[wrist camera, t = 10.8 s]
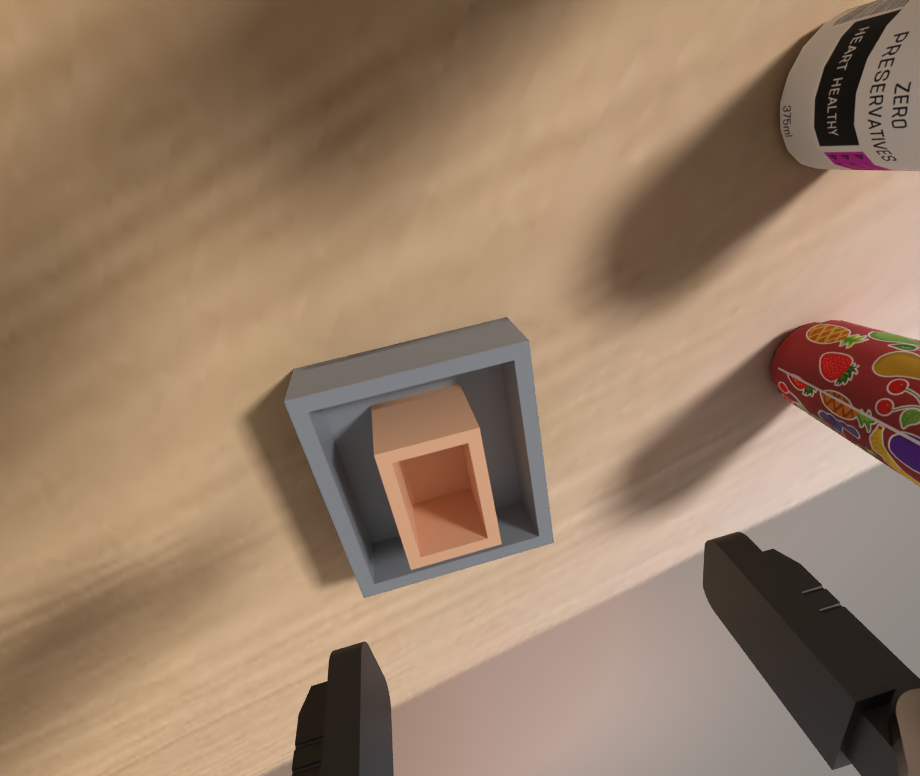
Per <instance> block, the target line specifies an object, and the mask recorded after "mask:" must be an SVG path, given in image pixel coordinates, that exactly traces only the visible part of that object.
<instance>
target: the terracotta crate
mask: <svg viewBox="0 0 920 776" xmlns="http://www.w3.org/2000/svg"><path fill="white" fill-rule="evenodd" d="M371 411H372V429H373V447H374V457H375V460H376V463H377V466H378V469H379V472H380V476H381V479H382V482H383V485H384V488H385V491H386V494H387V497H388V500H389V503H390V507H391V510H392V513H393V516H394V519H395V522H396V525H397V528H398V531H399V534H400V538H401V541H402V544H403V547H404V550H405V553H406V556H407V559H408V562H409V565H410V569H411V570H413V569H416V568H420V567H423V566H427V565H430V564H434V563H437V562H441V561H444V560H448V559H451V558H455V557H458V556H462V555H465V554H469V553H472V552H476V551H479V550H483V549H486V548H490V547H493V546H497V545H500V544H502V543H501V537H500V532H499V527H498V522H497V516H496V511H495V506H494V500H493V495H492V490H491V485H490V479H489V474H488V469H487V464H486V458H485V453H484V448H483V443H482V437H481V432H480V427H479V425H478V423H477V421H476V419H475V416H474V414H473V412H472V410H471V408H470V405H469V403H468V401H467V399H466V397H465V394H464V392H463V390H462V388H461V386H460V384H459V383H457V384H453V385H449V386H445V387H441V388H437V389H433V390H429V391H425V392H421V393H417V394H413V395H409V396H405V397H401V398H397V399H393V400H389V401H385V402H381V403H377V404H373V405H371Z"/></svg>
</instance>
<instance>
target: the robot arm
mask: <svg viewBox="0 0 920 776" xmlns="http://www.w3.org/2000/svg"><path fill="white" fill-rule="evenodd" d="M703 588H704V591H705V594H706V597H707V599H708V602H709V603H710V605H711V607H712V609H713V610H714V612H715V613H716V614H717V616H718V617H719V618H720V620H721V621H722V623H723V624H724V625H725V627H726V628H727V629H728V631H729V632H730V633H731V635H732V636H733V637H734V639H735V640H736V641H737V643H738V644H739V645H740V647H741V648H742V649H743V651H744V652H745V653H746V655H747V656H748V657H749V659H750V660H751V661H752V663H753V664H754V665H755V667H756V668H757V670H758V671H759V672H760V674H761V675H762V676H763V677H764V679H765V680H766V682H767V683H768V684H769V686H770V687H771V688H772V690H773V691H774V692H775V694H776V695H777V696H778V698H779V699H780V700H781V702H782V703H783V704H784V706H785V707H786V708H787V710H788V711H789V712H790V714H791V715H792V716H793V718H794V719H795V720H796V722H797V723H798V725H799V726H800V727H801V728H802V730H803V731H804V733H805V734H806V735H807V737H808V738H809V739H810V741H811V742H812V743H813V745H814V746H815V747H816V749H817V750H818V751H819V753H820V754H821V755H822V757H823V758H824V760H825V761H826V762H827V763H828V765H829V766H830V768H831V769H832V770H834V769H837V768H840V767H843V766H846V765H849V764H853V766H854V767H855V768H856V769H857V771H858V772H859V773H860V775H861V776H920V678H918V677H917V676H916V675H915V674H914V673H913V672H912V671H911V670H910V669H909V668H907V666H905V665H904V664H903V663H902V662H901V661H900V660H899V659H898V658H897V657H896V656H895V655H894V654H893V653H892V652H891V651H890V650H889V649H888V648H887V647H886V646H885V645H884V644H883V643H882V642H881V641H880V640H879V639H877V638H876V637H875V636H874V635H873V634H872V633H871V632H870V631H869V630H868V629H867V628H866V627H865V626H864V625H863V624H862V623H861V622H860V621H859V620H858V619H857V618H855V616H854V615H853V614H852V613H851V612H850V611H848V610H847V609H846V608H845V607H842V606H841V605H840V602H839V601H838V600H837V599H836V598H835V597H834V596H833V595H832V594H831V593H830V592H829V591H828V590H827V589H824V588H823V587H822V585H821V583H819V582H818V581H817V580H816V579H815V578H814V577H813V576H812V575H811V574H810V573H809V572H808V571H807V570H806V569H805V568H804V567H803V566H802V565H801V564H799V563H798V562H796V561H794V560H792V559H791V558H789V557H787V556H785V555H783V554H782V553H780V552H778V551H776V550H775V549H771V550H767V551H764V552H762V551H761V550H760V549H759V548H758V547H757V546H756V545H755V544H754V543H753V542H752V541H751V540H750V539H749V538H748V537H747V536H746V535H745V534H743V533H741V532H735V533H732V534H729V535H725V536H722V537H719V538H715V539H712V540H708V541H707V542H706V543H705V550H704V570H703ZM295 746H296V749H295V750H294V756H293V764H292V772H293V774H292V776H394V775H393V751H392V724H391V704H390V696H389V691H388V686H387V683H386V680H385V677H384V675H383V673H382V671H381V669H380V667H379V665H378V663H377V661H376V659H375V657H374V655H373V653H372V651H371V649H370V647H369V645H368V644H367V642H361V643H358V644H354V645H351V646H348V647H344V648H341V649H338V650H334V651H332V653H331V655H330V659H329V668H328V681H327V682H324V683H320V684H317V685H314V686H311V688H310V690H309V693H308V695H307V697H306V699H305V702H304V704H303V706H302V708H301V711H300V713H299V716H298V724H297V732H296V740H295Z"/></svg>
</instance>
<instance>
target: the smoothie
mask: <svg viewBox="0 0 920 776" xmlns="http://www.w3.org/2000/svg"><path fill="white" fill-rule="evenodd" d="M771 376H772V380H773V381H774V383H775V384H776V385H777V386H778V390H779V392H780V393H781V395H782V396H783V397H784V398H785V399H786V400H788V401H789V402H791V403H792V404H794V405H795V406H797V407H798V408H800V409H802V410H803V411H805V412H806V413H808V414H809V415H811V416H812V417H814V418H815V419H817V420H818V421H820V422H821V423H823V424H824V425H826V426H828V427H829V428H831V429H832V430H834V431H835V432H837V433H838V434H840V435H841V436H843V437H844V438H846V439H847V440H849V441H851V442H852V443H854V444H855V445H857V446H858V447H860V448H861V449H863V450H864V451H866V452H867V453H869V454H870V455H872V456H873V457H875V458H877V459H878V460H880V461H881V462H883V463H884V464H886V465H887V466H889V467H890V468H892V469H893V470H895V471H897V472H898V473H900V474H901V475H903V476H904V477H906V478H907V479H909V480H910V481H912V482H913V483H915V484H916V485H918V486H919V487H920V341H918V340H914V339H911V338H907V337H903V336H899V335H895V334H891V333H887V332H883V331H880V330H876V329H872V328H868V327H864V326H860V325H856V324H853V323H849V322H845V321H837V320H830V321H826V322H822V323H816V322H814V323H810V324H806V325H803V326H801V327H800V328H798V329H796V330H795V331H793V332H792V333H791V334H790V335H789V336H788V337H786V338H785V339H784V340H783V342H782V343H781V345H780V346H779V347H778V349H777V350H776V352H775V355H774V357H773V360H772V363H771Z"/></svg>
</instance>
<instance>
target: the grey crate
mask: <svg viewBox="0 0 920 776" xmlns="http://www.w3.org/2000/svg"><path fill="white" fill-rule="evenodd" d="M457 383H459V384H460V386H461V388H462V390H463V392H464V394H465V397H466V399H467V401H468V403H469V405H470V408H471V410H472V412H473V414H474V416H475V419H476V421H477V423H478V425H479V427H480V432H481V437H482V443H483V448H484V453H485V458H486V464H487V469H488V474H489V479H490V485H491V490H492V495H493V500H494V506H495V511H496V516H497V522H498V527H499V532H500V537H501V543H502V544H500V545H497V546H493V547H490V548H486V549H483V550H479V551H476V552H472V553H469V554H465V555H462V556H458V557H455V558H451V559H448V560H444V561H441V562H437V563H434V564H430V565H427V566H423V567H420V568H416V569H413V570H411V569H410V565H409V562H408V559H407V556H406V553H405V550H404V547H403V544H402V541H401V538H400V534H399V531H398V528H397V525H396V522H395V519H394V516H393V513H392V510H391V507H390V503H389V500H388V497H387V494H386V491H385V488H384V485H383V482H382V479H381V476H380V472H379V469H378V466H377V463H376V460H375V457H374V447H373V429H372V411H371V405H373V404H377V403H381V402H385V401H389V400H393V399H397V398H401V397H405V396H409V395H413V394H417V393H421V392H425V391H429V390H433V389H437V388H441V387H445V386H449V385H453V384H457ZM284 403H285V406H286V408H287V411H288V413H289V416H290V418H291V421H292V423H293V425H294V428H295V430H296V433H297V435H298V438H299V440H300V443H301V445H302V447H303V450H304V452H305V455H306V457H307V460H308V462H309V465H310V467H311V470H312V472H313V474H314V477H315V479H316V482H317V484H318V487H319V489H320V492H321V494H322V496H323V499H324V501H325V504H326V506H327V509H328V511H329V514H330V516H331V519H332V521H333V523H334V526H335V528H336V531H337V533H338V536H339V538H340V541H341V543H342V546H343V548H344V550H345V553H346V555H347V558H348V560H349V563H350V565H351V568H352V570H353V572H354V575H355V577H356V580H357V582H358V585H359V587H360V590H361V592H362V595H363V597H364V598H366V597H369V596H373V595H376V594H380V593H383V592H386V591H390V590H393V589H397V588H400V587H404V586H407V585H410V584H414V583H417V582H421V581H424V580H428V579H431V578H434V577H438V576H441V575H445V574H448V573H452V572H455V571H458V570H462V569H465V568H469V567H472V566H476V565H479V564H482V563H486V562H489V561H493V560H496V559H500V558H503V557H507V556H510V555H513V554H517V553H520V552H524V551H527V550H531V549H534V548H537V547H541V546H544V545H548V544H551V543H554V540H553V532H552V524H551V516H550V508H549V500H548V492H547V484H546V476H545V467H544V459H543V451H542V443H541V435H540V427H539V419H538V411H537V403H536V395H535V387H534V379H533V371H532V362H531V354H530V346H529V340H528V339H527V338H526V337H525V336H524V335H523V334H522V333H521V332H520V331H519V330H518V329H517V327H516V326H515V325H514V324H513V323H512V322H511V321H510V320H509V319H508V318H507V317H506V318H502V319H497V320H493V321H489V322H485V323H481V324H477V325H473V326H469V327H465V328H461V329H456V330H452V331H448V332H444V333H440V334H436V335H432V336H428V337H424V338H420V339H415V340H411V341H407V342H403V343H399V344H395V345H391V346H387V347H383V348H379V349H374V350H370V351H366V352H362V353H358V354H354V355H350V356H346V357H342V358H338V359H333V360H329V361H325V362H321V363H317V364H313V365H309V366H305V367H301V368H297V369H294V370H293V373H292V376H291V379H290V383H289V386H288V389H287V392H286V396H285V399H284Z"/></svg>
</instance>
